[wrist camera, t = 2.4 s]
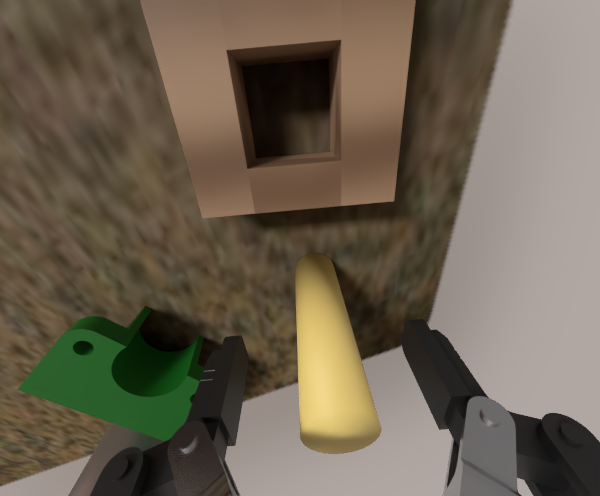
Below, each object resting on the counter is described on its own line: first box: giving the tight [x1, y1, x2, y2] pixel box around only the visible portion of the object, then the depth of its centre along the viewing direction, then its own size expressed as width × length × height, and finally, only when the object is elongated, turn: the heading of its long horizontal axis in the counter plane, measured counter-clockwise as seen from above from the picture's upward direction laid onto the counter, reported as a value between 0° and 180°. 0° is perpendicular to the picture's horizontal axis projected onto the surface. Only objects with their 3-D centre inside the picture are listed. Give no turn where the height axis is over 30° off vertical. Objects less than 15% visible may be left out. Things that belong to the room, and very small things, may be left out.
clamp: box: [18, 306, 204, 441], centre depth 19 cm, size 12×6×9 cm, turn 40°
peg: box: [295, 253, 381, 454], centre depth 14 cm, size 3×3×11 cm
